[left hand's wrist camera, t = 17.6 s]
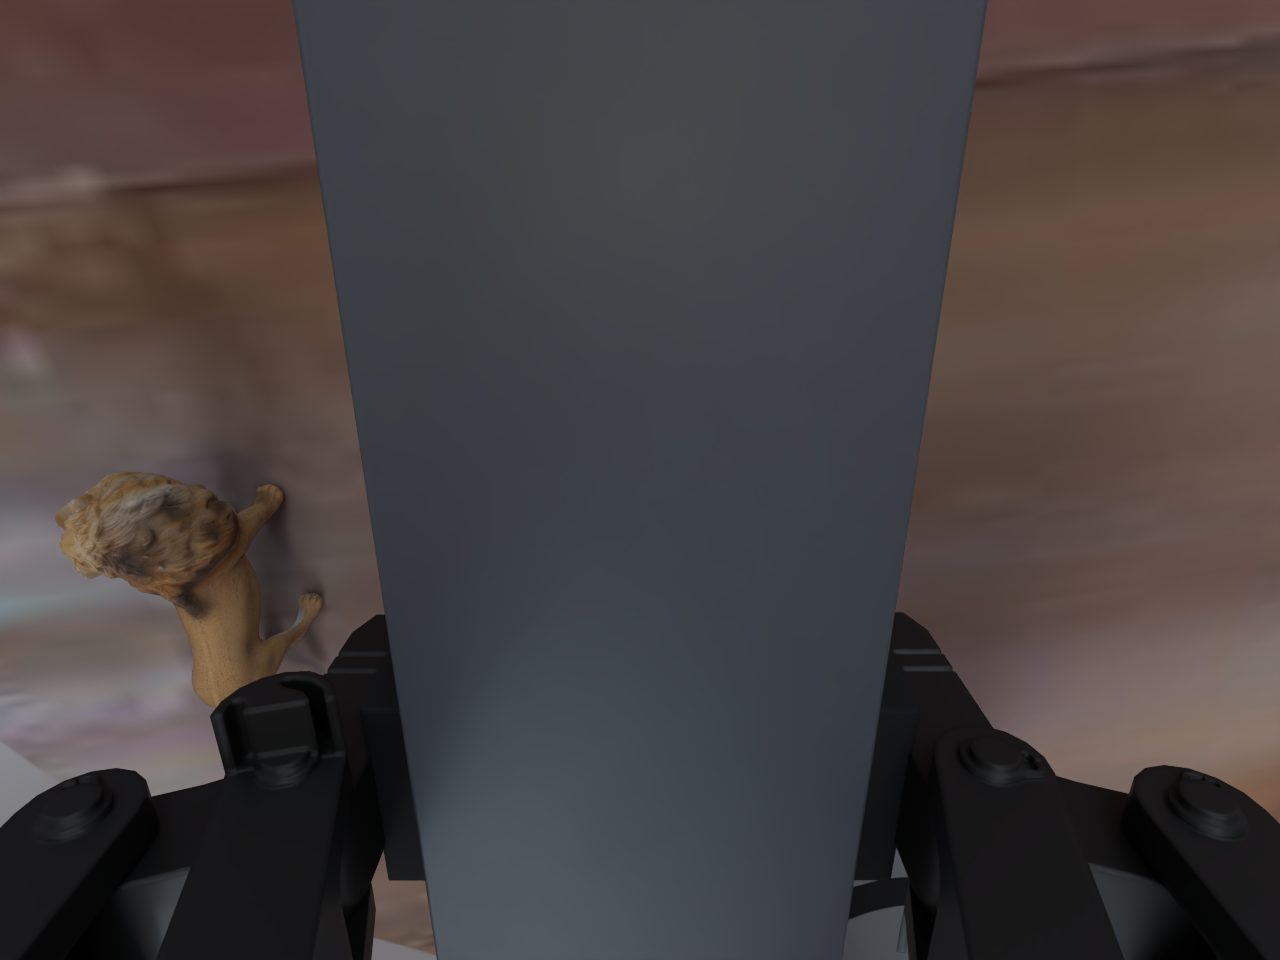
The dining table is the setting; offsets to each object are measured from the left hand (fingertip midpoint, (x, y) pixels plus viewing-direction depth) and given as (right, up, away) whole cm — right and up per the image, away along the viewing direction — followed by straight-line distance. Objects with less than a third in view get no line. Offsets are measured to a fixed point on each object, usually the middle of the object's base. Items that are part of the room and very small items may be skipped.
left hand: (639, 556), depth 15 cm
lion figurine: (-19, -2, +22) cm, 29 cm away
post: (0, +28, -10) cm, 30 cm away
